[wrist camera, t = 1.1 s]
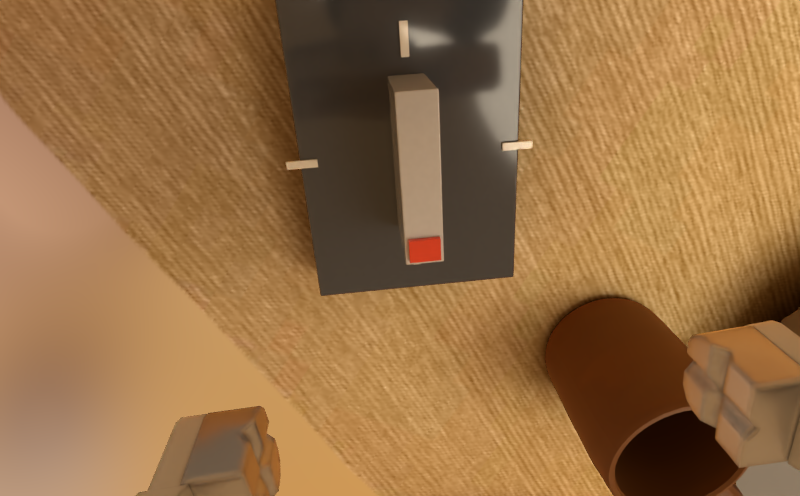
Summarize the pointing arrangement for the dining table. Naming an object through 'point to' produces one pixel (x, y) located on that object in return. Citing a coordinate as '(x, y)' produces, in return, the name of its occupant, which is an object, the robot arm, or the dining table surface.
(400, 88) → the beige slab red square
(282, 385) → the dining table surface
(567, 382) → the mug
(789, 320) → the flat disc
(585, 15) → the dining table surface
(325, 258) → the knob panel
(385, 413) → the dining table surface
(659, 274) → the dining table surface
